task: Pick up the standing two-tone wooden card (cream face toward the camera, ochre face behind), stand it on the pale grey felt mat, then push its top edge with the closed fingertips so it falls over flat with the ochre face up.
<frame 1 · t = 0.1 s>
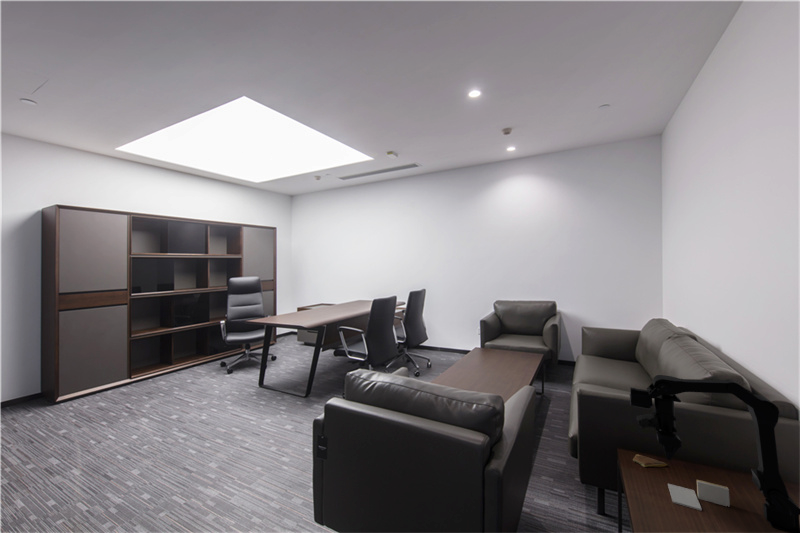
hand: (666, 453, 117), 15 cm above the table, fingers open, 9 cm apart
mat: (683, 497, 114), on the table
shard: (646, 463, 136), on the table
card: (713, 501, 112), on the table
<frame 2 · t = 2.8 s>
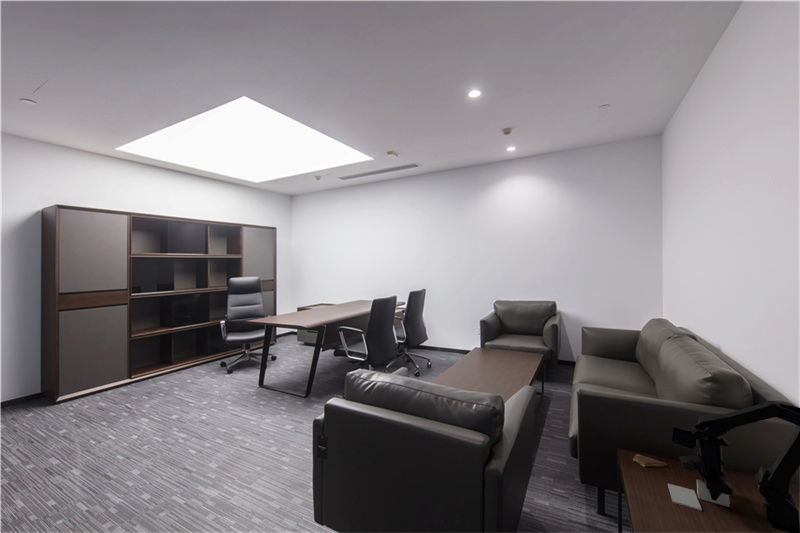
hand: (712, 498, 112), 1 cm above the table, fingers closed on card, 2 cm apart
card: (713, 501, 112), on the table, touching gripper
everything else where it was.
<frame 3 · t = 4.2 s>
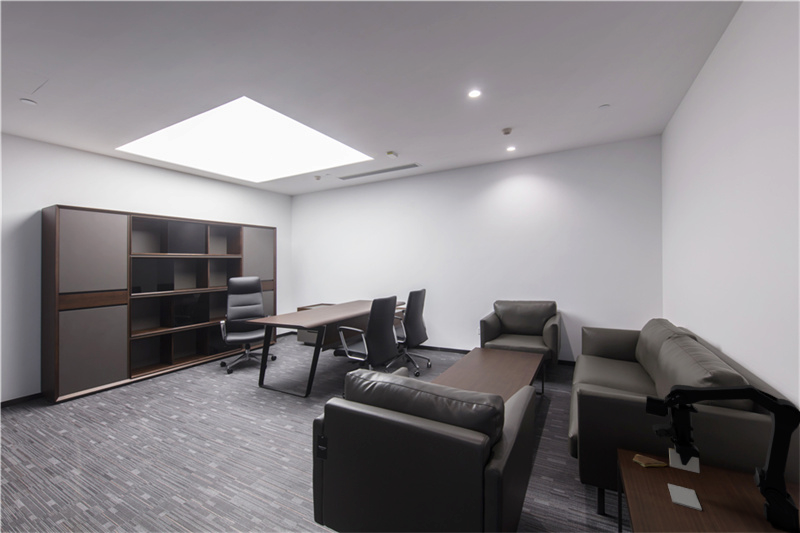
hand: (683, 463, 117), 11 cm above the table, fingers closed on card
card: (684, 468, 117), point 9 cm above the table, touching gripper
everything else where it was.
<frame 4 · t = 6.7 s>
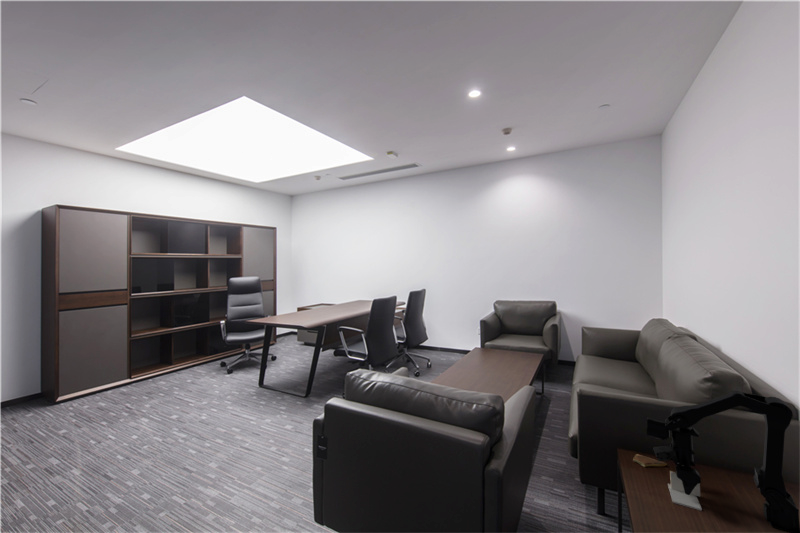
hand: (684, 486, 116), 2 cm above the table, fingers open, 9 cm apart
card: (685, 491, 116), point 1 cm above the table, touching mat
everything else where it was.
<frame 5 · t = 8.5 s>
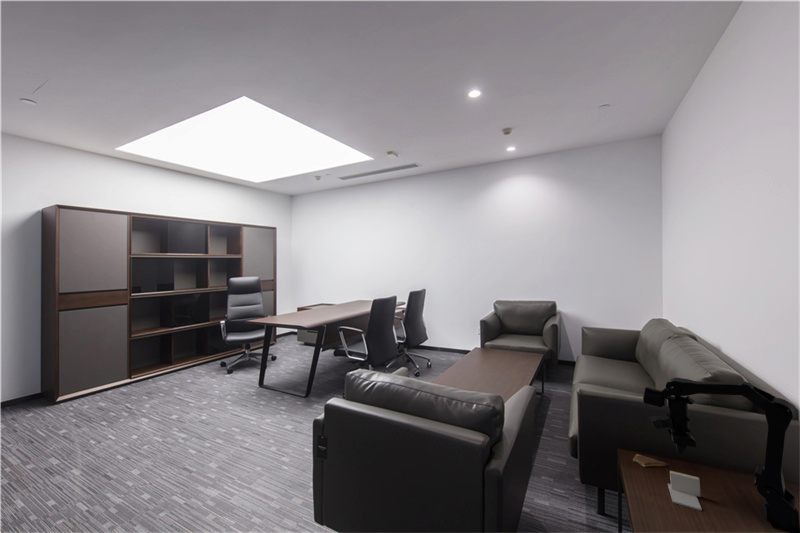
hand: (679, 453, 121), 12 cm above the table, fingers closed
nothing on the table moved.
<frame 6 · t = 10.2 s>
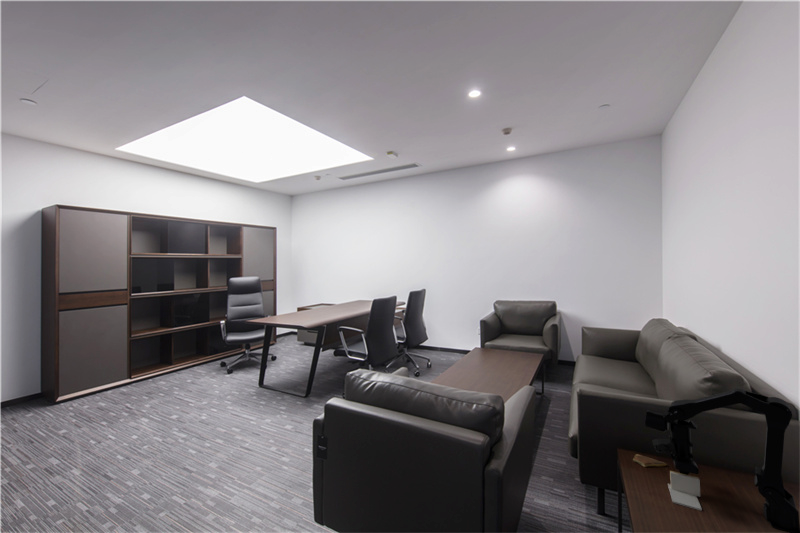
hand: (682, 478, 119), 4 cm above the table, fingers closed
card: (685, 491, 116), point 1 cm above the table, touching gripper, mat
everything else where it was.
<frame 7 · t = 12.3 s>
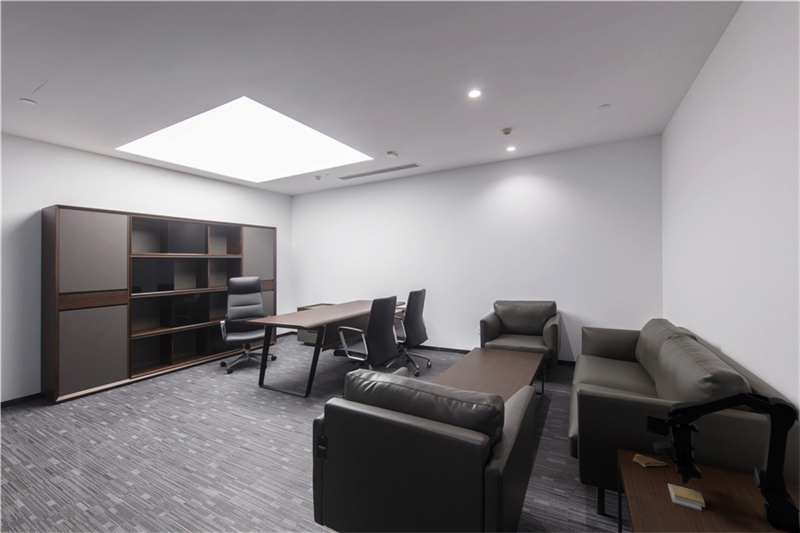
hand: (684, 483, 116), 4 cm above the table, fingers closed
card: (685, 490, 116), point 1 cm above the table, tilted 90°, touching mat
everything else where it was.
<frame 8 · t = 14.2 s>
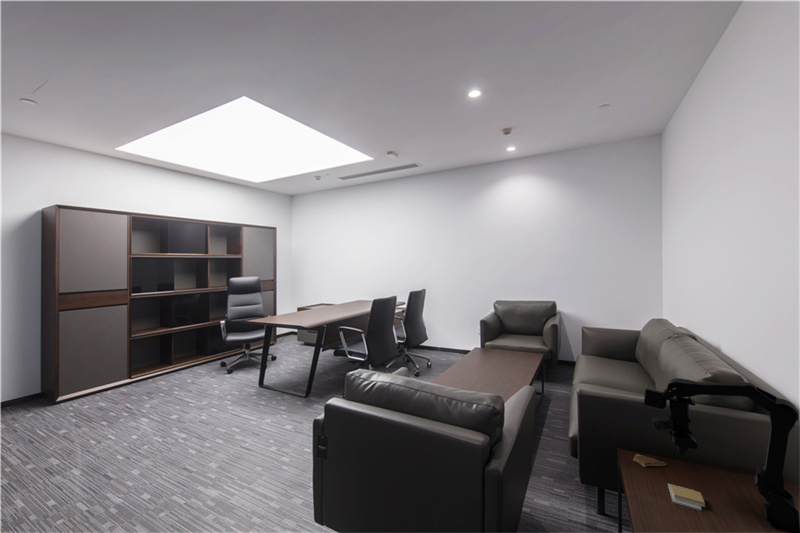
hand: (681, 455, 119), 12 cm above the table, fingers closed
nothing on the table moved.
at the end: card tilted 90°; card inside the target area (2.5 cm from its centre), point 1.4 cm above the table; the gripper is holding nothing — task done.
